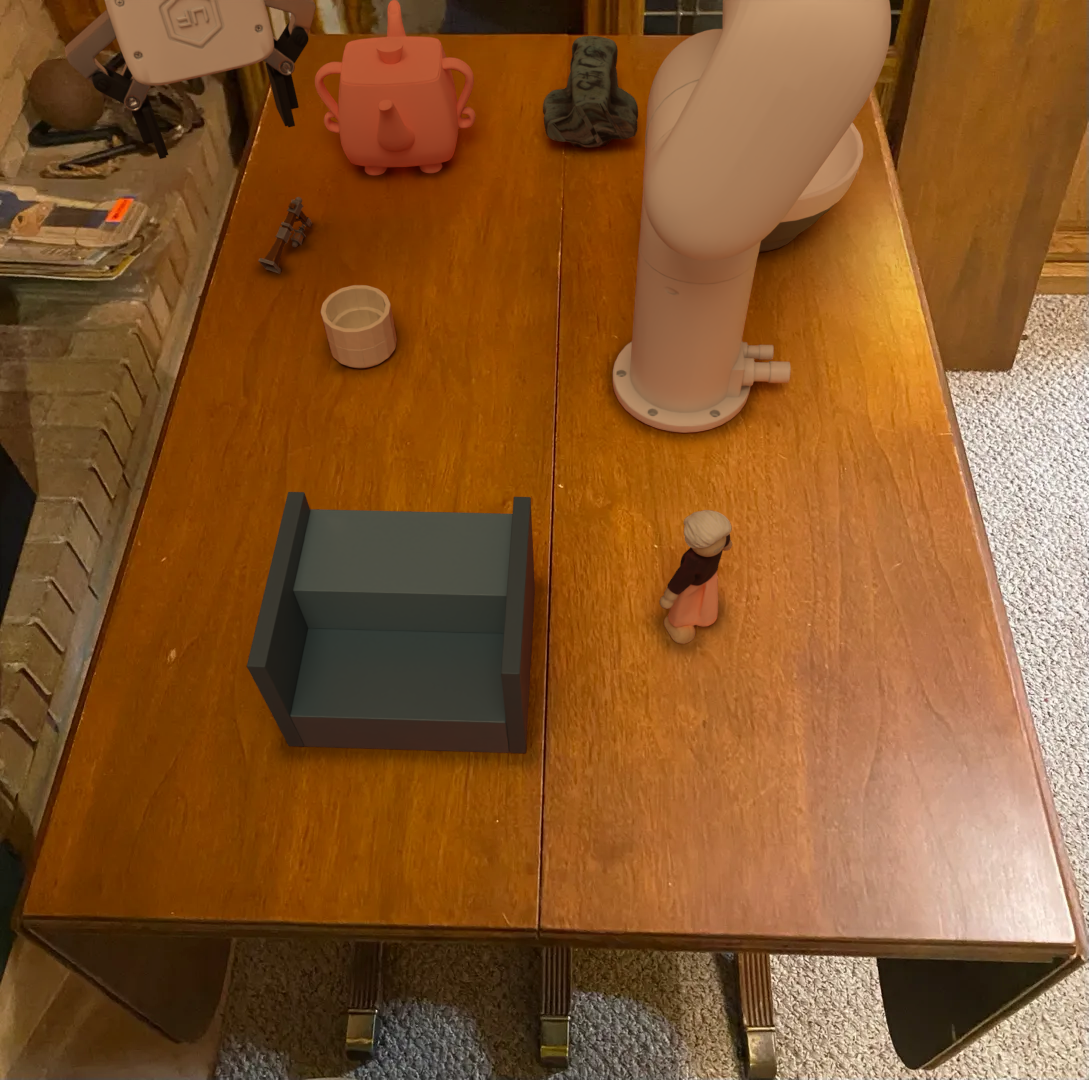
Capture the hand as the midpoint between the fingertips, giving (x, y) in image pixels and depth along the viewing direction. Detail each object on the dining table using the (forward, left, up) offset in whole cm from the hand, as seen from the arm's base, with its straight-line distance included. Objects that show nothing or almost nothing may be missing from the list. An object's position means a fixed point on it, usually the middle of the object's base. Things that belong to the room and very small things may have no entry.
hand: (224, 133), depth 78 cm
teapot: (-7, -34, -24) cm, 42 cm away
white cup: (-7, -2, -24) cm, 25 cm away
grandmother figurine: (-37, +27, -24) cm, 52 cm away
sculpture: (-28, -40, -24) cm, 54 cm away
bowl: (-45, -22, -24) cm, 55 cm away
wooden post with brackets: (+3, -16, -24) cm, 29 cm away
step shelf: (-16, +32, -24) cm, 43 cm away
